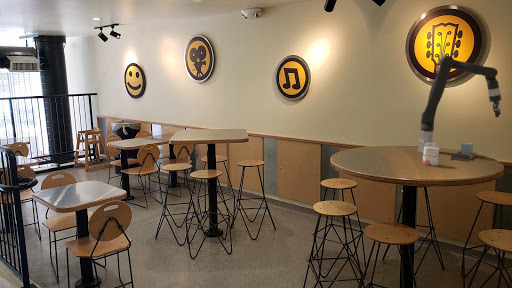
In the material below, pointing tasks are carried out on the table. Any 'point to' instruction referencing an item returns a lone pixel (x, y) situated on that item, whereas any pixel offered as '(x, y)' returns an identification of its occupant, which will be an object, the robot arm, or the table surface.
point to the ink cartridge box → (430, 154)
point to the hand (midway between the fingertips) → (498, 116)
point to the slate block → (466, 148)
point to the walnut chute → (462, 156)
